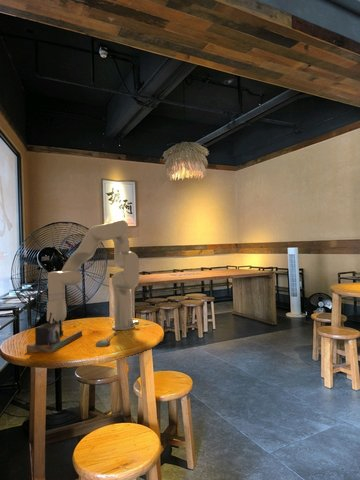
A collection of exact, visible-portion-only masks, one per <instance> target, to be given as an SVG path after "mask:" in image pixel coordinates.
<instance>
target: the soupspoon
mask: <svg viewBox="0 0 360 480" xmlns="http://www.w3.org/2000/svg"><path fill="white" fill-rule="evenodd" d="M116 334H117V335H118V332H117V331H115V332H113V333H112V334H110V335H109V336H107V338H104V339H100V340H98V341H96V342H95V345H94V346H95V348H107V347H109V346H110V343H111V340H109V339H110V338H111V337H112V336H116Z"/></svg>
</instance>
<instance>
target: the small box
mask: <svg viewBox="0 0 360 480" xmlns="http://www.w3.org/2000/svg"><path fill="white" fill-rule="evenodd" d="M34 340H35V342H34V343H35V345H53V344H55V343H57V342H59V341H61V337H60V323H50V322H46V323H44V324H41V325H38V326H36V327H35V328H34Z"/></svg>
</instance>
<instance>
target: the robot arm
mask: <svg viewBox="0 0 360 480" xmlns="http://www.w3.org/2000/svg"><path fill="white" fill-rule="evenodd" d="M128 231H129V223H128V222H127V221H125V220H124V219H117V220H111V221H108V222H106V223H103V224H97V225H93V226H90V228H88V230H87V231H86V233H85V235H84V236H83V238H82V241H81V242H80V243H79V246H78V248H76V250H75V251H74V252H73V253H72V254H71V255H70V257H69V258H68V259H67V260H66V262H64V265H63V266H62V269H61V270H57V271H50V272H48V273H47V289H48V291H47V293H48V295H47V296H48V297H47V298H48V300H47V307H46V321H47V323H60V335H62V331H63V327H62V326H63V324H64V323H63V322H64V321H65V320H66V318H67V303H66V286H76V285H79V284H80V283H81V282H82V280H83V276H82V273H81V272H80V271H79V268H80V267H81V266H82V265H83V264H84V263H86V262H87V261H88V260H90V259H91V258H93V256H94V255H95V252H96V250H97V249H98V247H99V245H100V243H101V242H106V241H109V240H112V242H113V248H114V253H113V254H114V257H113V258H114V259H113V262H114V266H115V267H116V268H117V269H120V270H118V271H116V272H115V273H114V274H113V275H112V277H111V286H112V288H113V289H112V290H113V306H114V308H113V309H114V311H113V312H114V324H113V325H112V326H111V328H112V329H111V330H114V331H127V330H132V329H134V328H135V327H136V326H139V325H140V322H139V321H138V320H135V319H134V318H133V317H132V316H133V314H132V294H131V290H134V289H135V288H136V287H137V286H138V285H139V282H140V260H139V256H138V255H137V254H136V253H135V252H133V251H131V247H130V240H129V237H128V236H127V233H128ZM121 269H123V270H121Z"/></svg>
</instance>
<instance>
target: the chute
mask: <svg viewBox="0 0 360 480" xmlns="http://www.w3.org/2000/svg"><path fill="white" fill-rule="evenodd" d="M62 336H64V330H62V335H60V338H61V337H62ZM81 337H83V330H79V331H77V332H75V333H73V334H71V335H69V336H67V337H65V338H63V339H60V341H59V342H57V343H55V344H53V345H35V342H33V343H32V344H26V353H37V352H39V353H40V354H41V353H42V354H43V353H45V354H47V353H48V354H51V353H53V352H55V351H57V350H59V349H61V348H63V347H64V346H66V345H67V344H70V343H71V342H74V341H75V340H77V339H78V338H81Z"/></svg>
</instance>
